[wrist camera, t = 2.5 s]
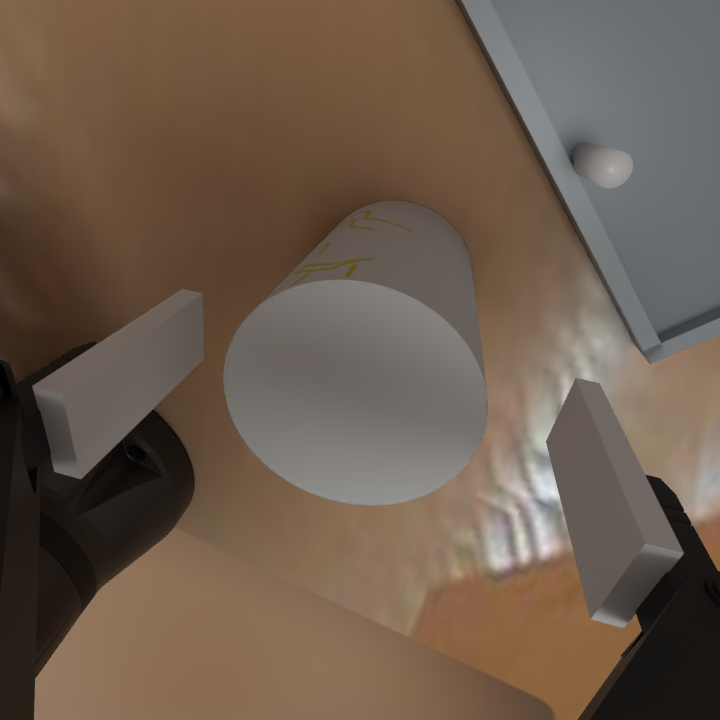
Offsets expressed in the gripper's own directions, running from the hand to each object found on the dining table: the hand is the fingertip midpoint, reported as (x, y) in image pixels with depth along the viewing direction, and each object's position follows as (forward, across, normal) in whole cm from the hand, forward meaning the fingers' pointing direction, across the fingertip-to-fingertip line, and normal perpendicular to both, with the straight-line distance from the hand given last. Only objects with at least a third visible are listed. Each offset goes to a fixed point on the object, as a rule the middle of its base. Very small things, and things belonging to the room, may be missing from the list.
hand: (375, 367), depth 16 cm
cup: (+10, -1, 0) cm, 10 cm away
